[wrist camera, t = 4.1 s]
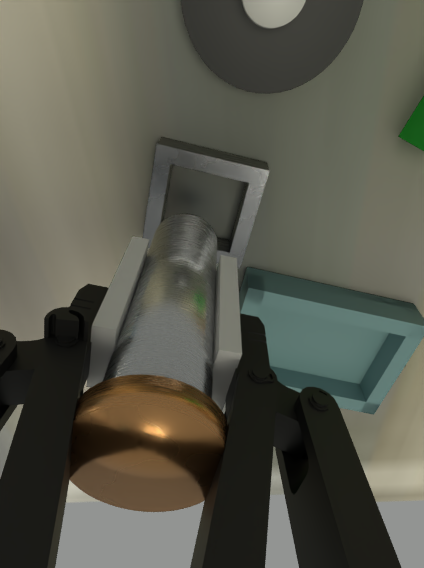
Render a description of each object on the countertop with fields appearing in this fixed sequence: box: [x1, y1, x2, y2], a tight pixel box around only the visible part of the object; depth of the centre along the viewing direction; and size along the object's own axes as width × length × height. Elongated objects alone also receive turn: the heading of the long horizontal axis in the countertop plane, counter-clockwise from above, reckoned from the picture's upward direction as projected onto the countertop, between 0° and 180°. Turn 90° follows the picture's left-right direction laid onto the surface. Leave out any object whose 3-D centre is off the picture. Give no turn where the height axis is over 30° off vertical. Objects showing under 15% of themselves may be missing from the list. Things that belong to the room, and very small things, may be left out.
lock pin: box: [69, 214, 228, 512], centre depth 16 cm, size 4×4×13 cm
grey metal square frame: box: [143, 137, 269, 268], centre depth 27 cm, size 7×7×2 cm
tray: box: [239, 267, 424, 414], centre depth 32 cm, size 13×9×3 cm
